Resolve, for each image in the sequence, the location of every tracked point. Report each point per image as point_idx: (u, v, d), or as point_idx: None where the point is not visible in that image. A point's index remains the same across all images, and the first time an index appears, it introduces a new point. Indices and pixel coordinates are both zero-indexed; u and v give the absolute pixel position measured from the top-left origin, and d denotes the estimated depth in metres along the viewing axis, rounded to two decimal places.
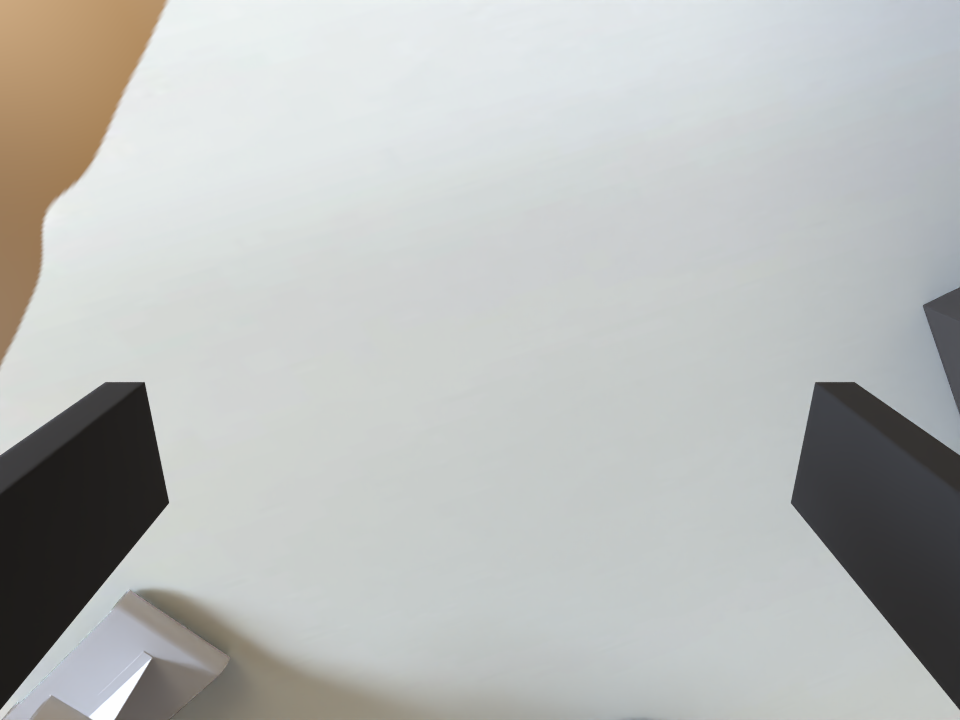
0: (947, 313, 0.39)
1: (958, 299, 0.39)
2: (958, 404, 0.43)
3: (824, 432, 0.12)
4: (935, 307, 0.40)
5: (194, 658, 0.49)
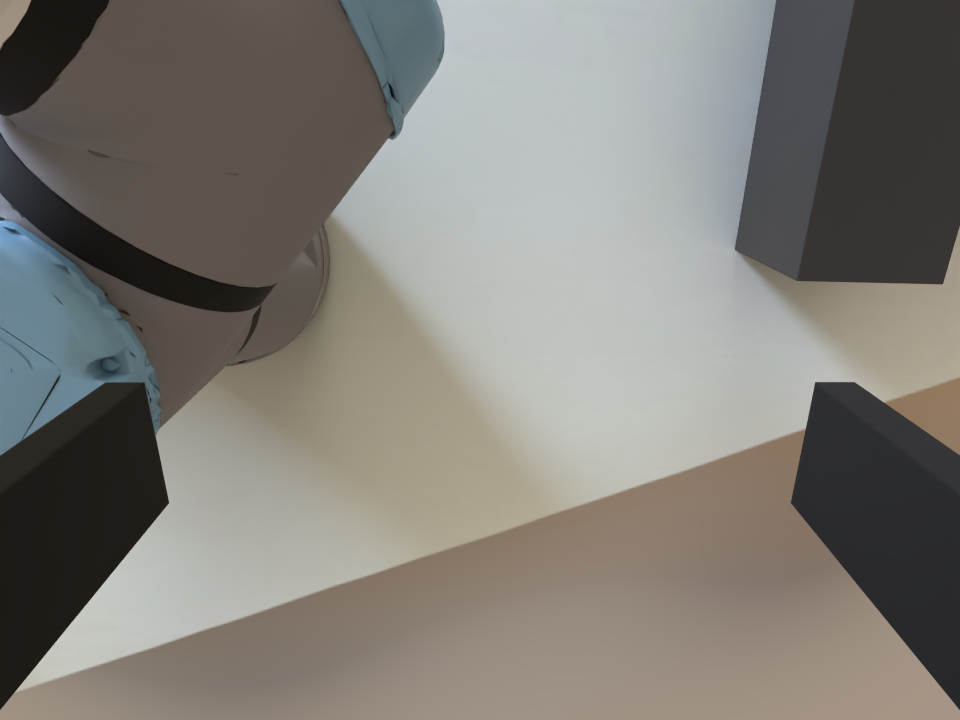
0: None
1: None
2: None
3: (824, 432, 0.12)
4: None
5: None
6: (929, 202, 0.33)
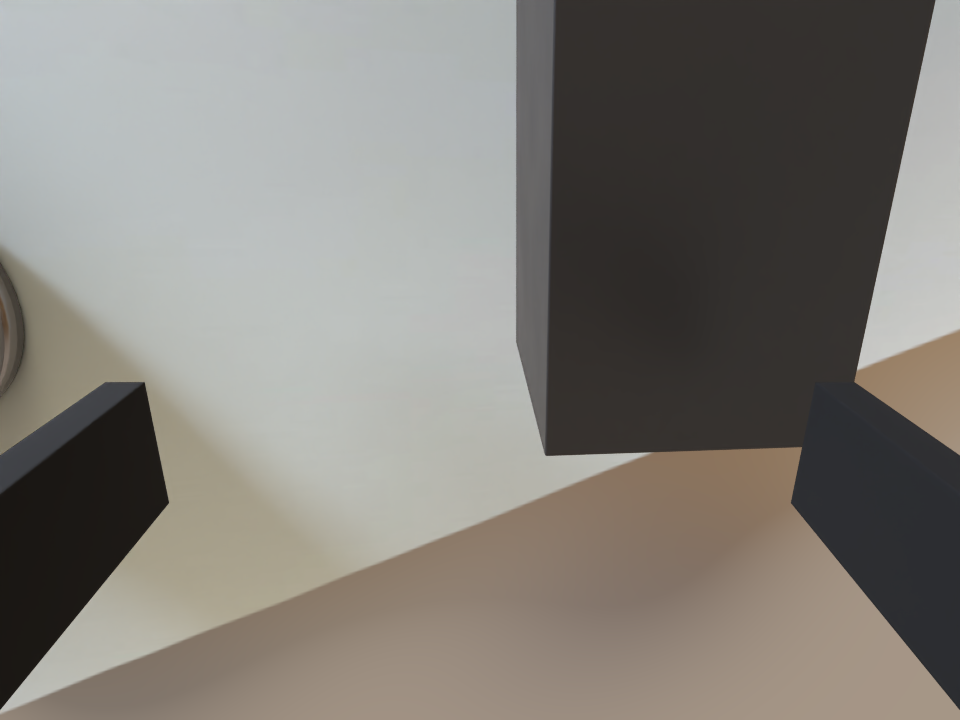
0: None
1: None
2: None
3: (824, 432, 0.12)
4: None
5: None
6: (795, 293, 0.15)
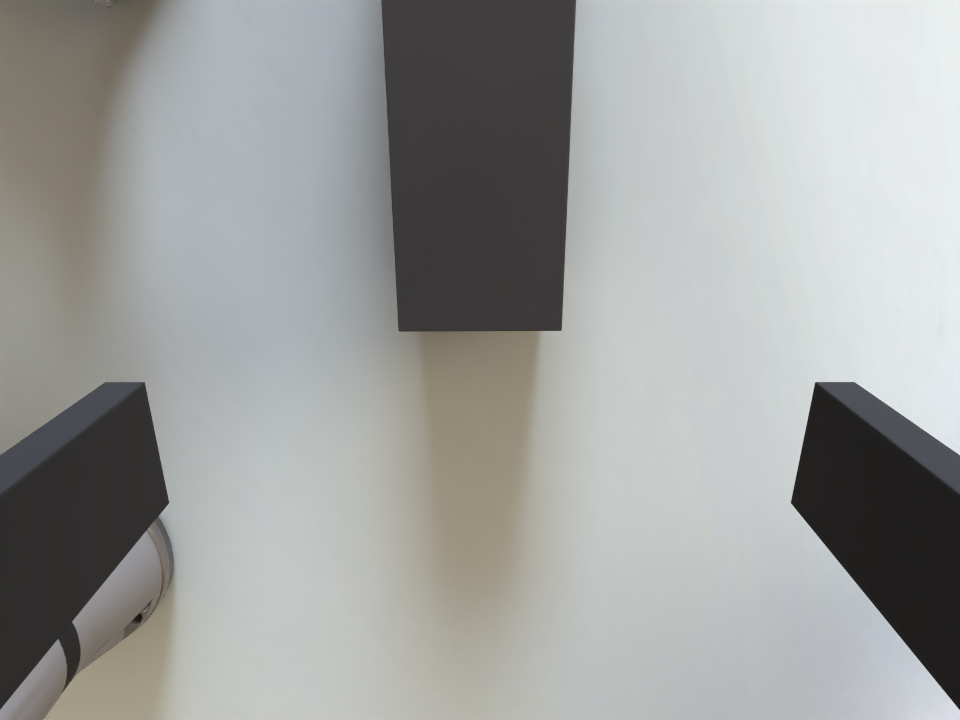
0: None
1: None
2: None
3: (824, 432, 0.12)
4: None
5: None
6: (523, 243, 0.30)
